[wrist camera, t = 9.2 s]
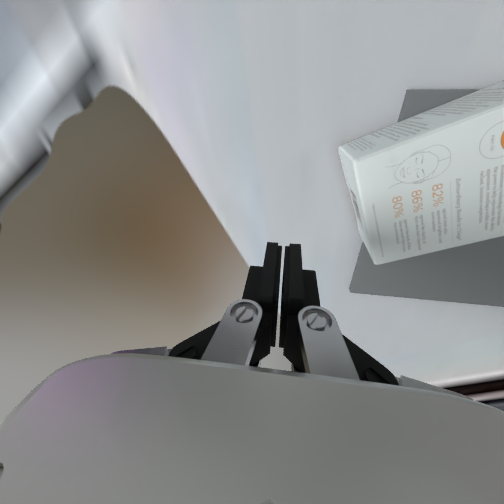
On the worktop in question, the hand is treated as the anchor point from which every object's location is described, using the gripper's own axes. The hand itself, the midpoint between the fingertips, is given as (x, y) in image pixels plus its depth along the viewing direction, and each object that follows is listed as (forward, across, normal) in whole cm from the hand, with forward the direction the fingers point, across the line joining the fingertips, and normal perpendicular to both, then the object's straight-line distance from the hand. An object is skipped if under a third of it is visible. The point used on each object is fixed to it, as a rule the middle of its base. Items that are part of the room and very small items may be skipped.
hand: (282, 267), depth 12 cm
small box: (+8, -5, -1) cm, 9 cm away
